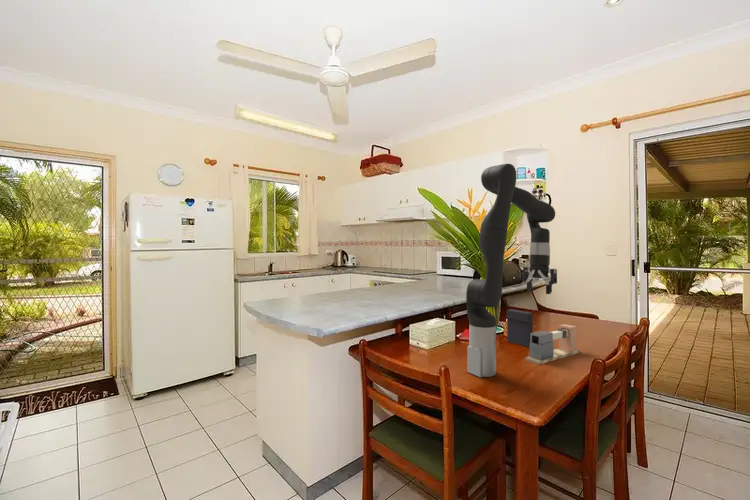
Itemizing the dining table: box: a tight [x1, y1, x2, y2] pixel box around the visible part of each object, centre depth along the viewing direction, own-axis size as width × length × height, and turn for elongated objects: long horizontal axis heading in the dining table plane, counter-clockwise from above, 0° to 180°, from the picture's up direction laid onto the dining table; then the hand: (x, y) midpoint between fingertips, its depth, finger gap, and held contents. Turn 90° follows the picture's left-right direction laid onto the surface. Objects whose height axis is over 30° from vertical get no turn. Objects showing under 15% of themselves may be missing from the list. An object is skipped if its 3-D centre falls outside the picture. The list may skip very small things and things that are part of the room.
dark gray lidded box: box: [506, 308, 534, 348], centre depth 160 cm, size 11×4×15 cm, turn 34°
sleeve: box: [528, 330, 555, 361], centre depth 139 cm, size 8×5×10 cm, turn 121°
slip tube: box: [550, 328, 569, 341], centre depth 144 cm, size 17×3×3 cm, turn 121°
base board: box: [524, 347, 581, 366], centre depth 143 cm, size 28×6×1 cm, turn 121°
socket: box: [558, 323, 577, 352], centre depth 148 cm, size 4×5×10 cm
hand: (538, 292), depth 146 cm, fingers open, 8 cm apart
